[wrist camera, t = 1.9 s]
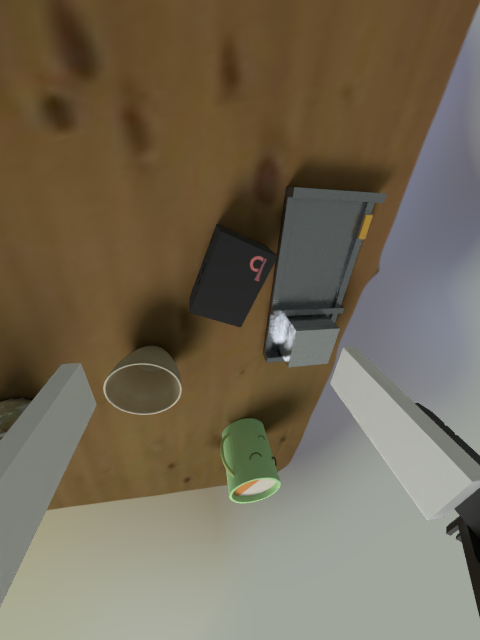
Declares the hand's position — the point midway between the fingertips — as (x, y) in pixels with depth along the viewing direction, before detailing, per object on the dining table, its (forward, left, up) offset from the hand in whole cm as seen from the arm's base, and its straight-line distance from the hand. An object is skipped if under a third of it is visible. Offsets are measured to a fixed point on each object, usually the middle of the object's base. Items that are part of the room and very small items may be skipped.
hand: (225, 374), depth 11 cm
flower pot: (+16, -9, -21) cm, 28 cm away
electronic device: (+2, +3, -22) cm, 22 cm away
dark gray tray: (+4, +16, -21) cm, 27 cm away
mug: (+40, +7, -21) cm, 46 cm away
